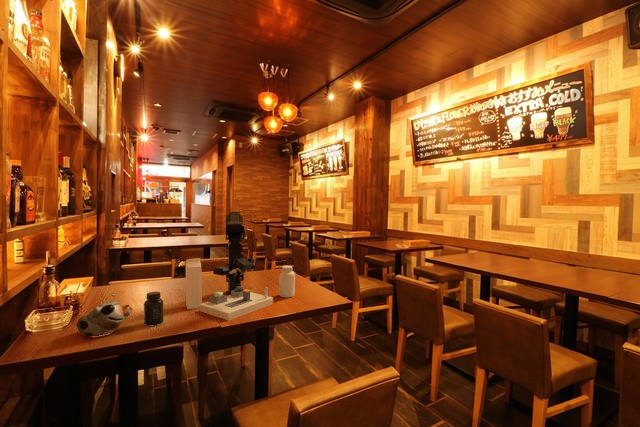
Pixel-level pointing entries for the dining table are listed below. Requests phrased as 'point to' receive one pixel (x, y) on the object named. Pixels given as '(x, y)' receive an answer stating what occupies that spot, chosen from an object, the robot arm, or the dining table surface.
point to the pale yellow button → (218, 294)
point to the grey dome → (239, 289)
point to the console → (235, 304)
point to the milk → (193, 283)
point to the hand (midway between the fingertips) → (235, 287)
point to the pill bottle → (287, 282)
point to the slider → (246, 295)
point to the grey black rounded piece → (103, 319)
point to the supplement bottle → (153, 309)
